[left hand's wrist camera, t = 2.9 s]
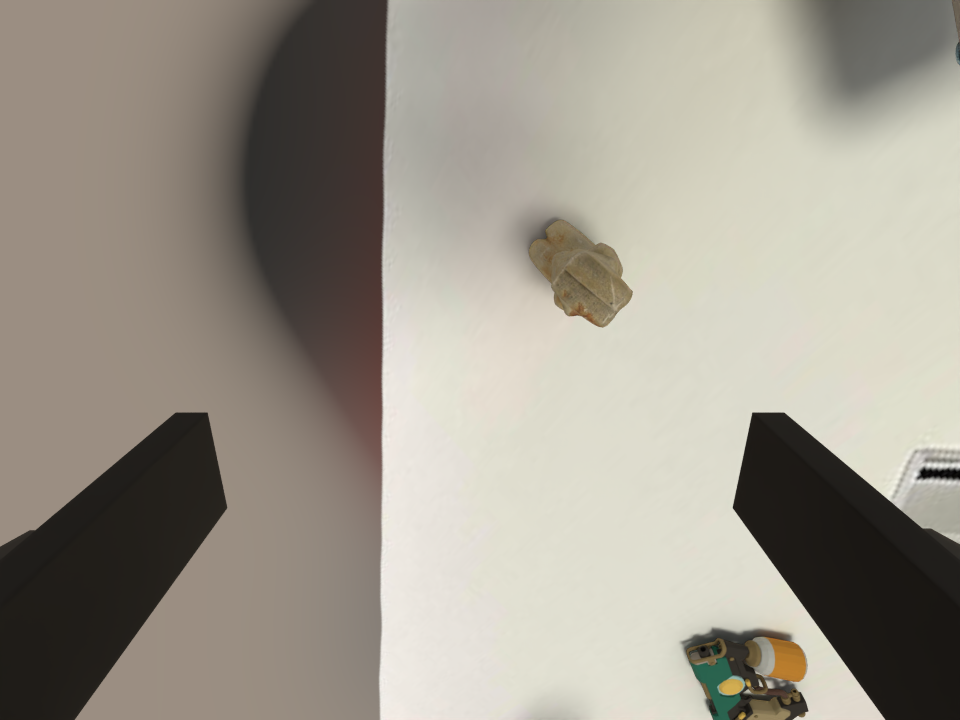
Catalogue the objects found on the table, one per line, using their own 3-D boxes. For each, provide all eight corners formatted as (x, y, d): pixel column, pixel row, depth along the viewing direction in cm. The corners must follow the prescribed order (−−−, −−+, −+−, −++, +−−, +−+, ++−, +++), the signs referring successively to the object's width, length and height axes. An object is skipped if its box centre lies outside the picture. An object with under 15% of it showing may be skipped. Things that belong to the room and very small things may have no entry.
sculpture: (564, 205, 46) (600, 227, 32) (618, 262, 48) (674, 305, 34) (517, 254, 48) (532, 294, 34) (571, 307, 50) (606, 365, 36)
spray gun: (794, 707, 70) (679, 713, 71) (809, 620, 63) (682, 629, 65) (811, 741, 66) (689, 747, 68) (829, 653, 59) (693, 661, 61)
